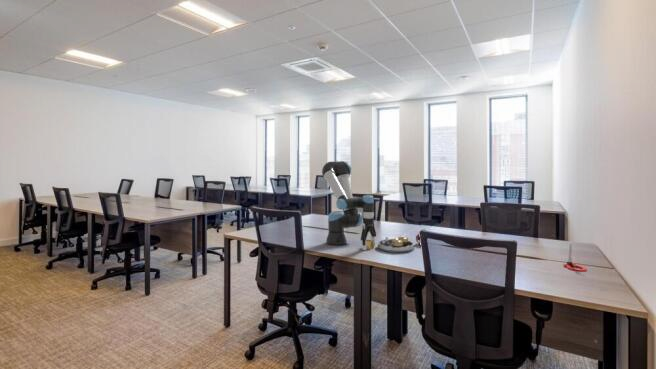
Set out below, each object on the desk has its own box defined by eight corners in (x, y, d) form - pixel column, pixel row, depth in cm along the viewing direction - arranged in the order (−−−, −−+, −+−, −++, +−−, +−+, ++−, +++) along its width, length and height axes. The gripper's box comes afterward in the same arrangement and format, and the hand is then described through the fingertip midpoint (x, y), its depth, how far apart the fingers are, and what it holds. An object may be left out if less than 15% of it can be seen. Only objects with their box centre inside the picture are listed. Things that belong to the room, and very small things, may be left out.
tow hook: (590, 271, 172) (574, 265, 181) (592, 248, 170) (576, 243, 179) (576, 272, 171) (561, 266, 180) (577, 248, 169) (562, 243, 178)
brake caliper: (430, 239, 240) (432, 228, 232) (432, 251, 231) (434, 240, 224) (414, 238, 241) (415, 228, 234) (416, 250, 233) (417, 240, 225)
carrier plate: (372, 250, 221) (372, 239, 221) (386, 242, 242) (386, 232, 241) (407, 254, 208) (407, 243, 208) (418, 246, 229) (418, 236, 228)
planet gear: (361, 248, 226) (361, 241, 226) (366, 246, 233) (366, 239, 232) (371, 249, 223) (371, 242, 222) (375, 247, 229) (375, 240, 228)
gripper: (365, 220, 214) (365, 252, 215) (380, 215, 235) (381, 244, 236) (355, 220, 218) (355, 251, 219) (371, 214, 239) (371, 243, 240)
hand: (368, 247), depth 227 cm, fingers open, 13 cm apart
